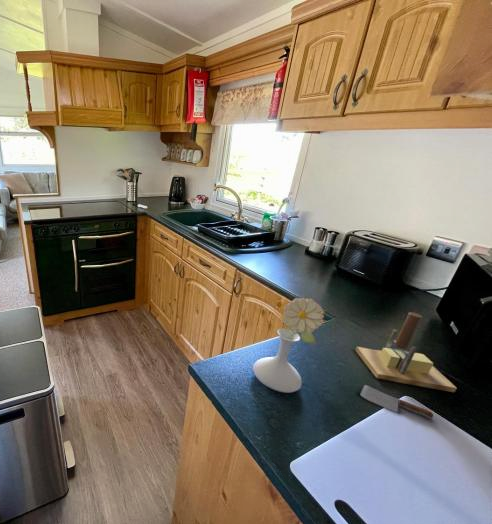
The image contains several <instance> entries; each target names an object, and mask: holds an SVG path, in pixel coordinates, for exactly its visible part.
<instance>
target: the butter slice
mask: <svg viewBox="0 0 492 524" xmlns="http://www.w3.org/2000/svg"><path fill="white" fill-rule="evenodd" d="M381 351H382V352H381V354H380V356H379V358H380V359H381V361H382V362H383V363H384V364H385V365H386V366H387V367H391V368H396V366H397V363H398V361H399V359H400V357H399V356H398V355H397V354H396V353H395V352H394V351H393V350H392V349H389V348H385V347H382V349H381Z"/></svg>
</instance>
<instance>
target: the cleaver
mask: <svg viewBox="0 0 492 524" xmlns="http://www.w3.org/2000/svg"><path fill="white" fill-rule="evenodd" d="M359 395H360V396H361V397H362V398H364V399H365V400H367V401H369V402H371V403H373V404H375V405H378V406H380V407H382V408H384V409H387V410H389V411H392V412H396V413H398V412H399V409H398V408H399V407H401V408H403V409H405V410H407V411H410V412H412V413H415V414H417V415H420V416H423V417H425V418H427V419H431V420H432V419H433V418H434V414H433V412H432V411H430V410H428V409H427V408H424V407H421V406H418V405H415V404H413V403H410V402H408V401H405V400H403V399H400V398H397V397H394V396H391V395H388V394H387V393H384V392H382V391H380V390H378V389H376V388H373V387H371V386H370V385H367V384H364V386H363V388H362V389H361V392H360V394H359Z"/></svg>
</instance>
